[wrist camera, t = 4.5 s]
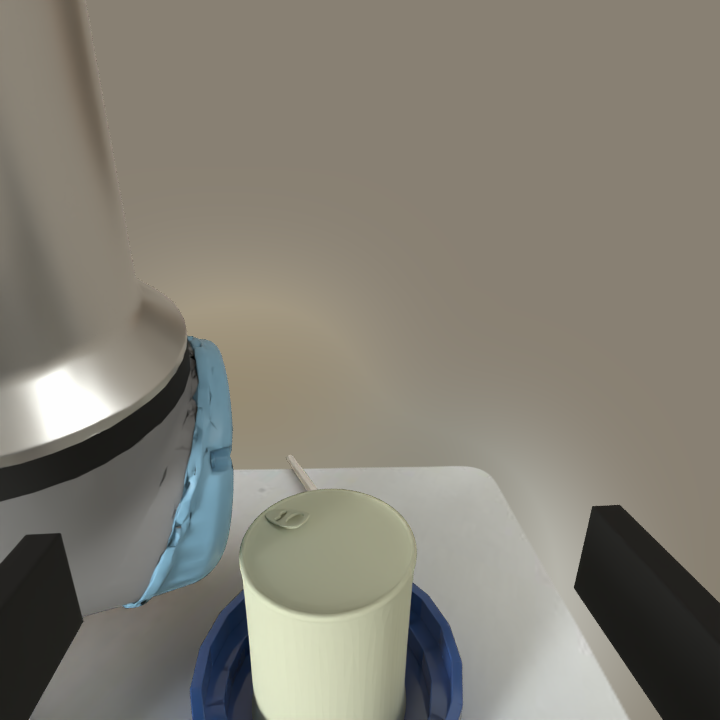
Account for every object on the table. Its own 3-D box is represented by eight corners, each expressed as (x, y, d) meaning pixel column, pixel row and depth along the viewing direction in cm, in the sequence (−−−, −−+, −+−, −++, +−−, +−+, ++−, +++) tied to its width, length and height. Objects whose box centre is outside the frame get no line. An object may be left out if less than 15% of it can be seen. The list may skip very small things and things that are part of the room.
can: (312, 603, 33) (309, 464, 29) (428, 666, 28) (444, 513, 24) (217, 722, 25) (195, 556, 21) (357, 832, 21) (362, 650, 17)
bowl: (137, 748, 24) (127, 704, 23) (303, 564, 37) (302, 529, 35) (385, 977, 17) (390, 931, 16) (486, 653, 30) (492, 613, 28)
